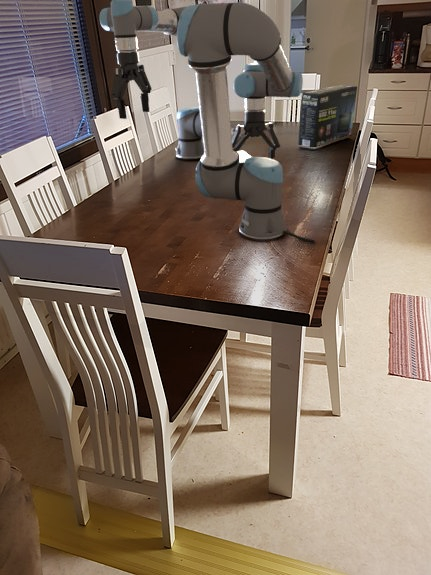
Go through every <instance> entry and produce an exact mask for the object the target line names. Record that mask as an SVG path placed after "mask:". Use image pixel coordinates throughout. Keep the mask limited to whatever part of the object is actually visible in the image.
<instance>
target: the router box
mask: <svg viewBox="0 0 431 575" xmlns="http://www.w3.org/2000/svg"><path fill="white" fill-rule="evenodd" d="M357 93H358V86H356V85H350V84H339V85H338V84H337V85H334V86H328V87H324V88H318V89H314V90H309V91H304V92H301V94H300V109H299V110H300V111H299V124H298V137H297V146H298V145H302V146H307V147H317V146H320V145H323V144H325V143H328V142H331V141H333V140H336V139H338V138H341V137H344V136H347V135H351V136H352V133H353V132H352V131H353V125H354V115H355V109H356V99H357ZM311 151H313V150H312V149H311Z"/></svg>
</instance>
